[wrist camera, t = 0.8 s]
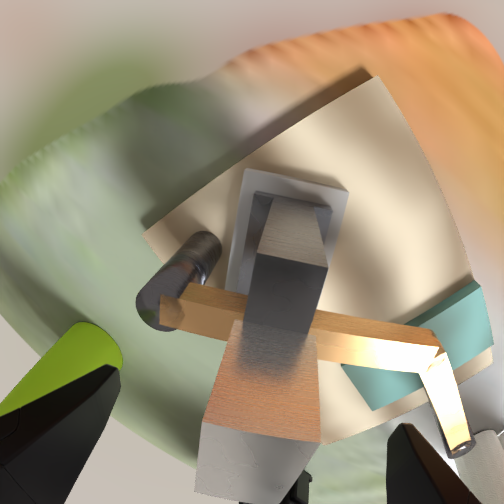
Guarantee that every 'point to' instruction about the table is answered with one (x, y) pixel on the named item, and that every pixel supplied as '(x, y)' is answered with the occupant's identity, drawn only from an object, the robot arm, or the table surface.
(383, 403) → the beige rectangular panel
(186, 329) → the wooden crank handle
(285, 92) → the table surface
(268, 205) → the grey boxy piece
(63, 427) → the robot arm
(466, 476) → the paper towel roll
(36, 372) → the soap dispenser
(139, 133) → the table surface
